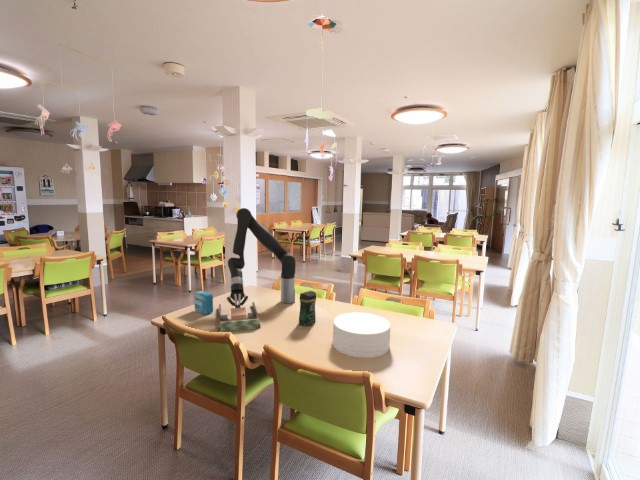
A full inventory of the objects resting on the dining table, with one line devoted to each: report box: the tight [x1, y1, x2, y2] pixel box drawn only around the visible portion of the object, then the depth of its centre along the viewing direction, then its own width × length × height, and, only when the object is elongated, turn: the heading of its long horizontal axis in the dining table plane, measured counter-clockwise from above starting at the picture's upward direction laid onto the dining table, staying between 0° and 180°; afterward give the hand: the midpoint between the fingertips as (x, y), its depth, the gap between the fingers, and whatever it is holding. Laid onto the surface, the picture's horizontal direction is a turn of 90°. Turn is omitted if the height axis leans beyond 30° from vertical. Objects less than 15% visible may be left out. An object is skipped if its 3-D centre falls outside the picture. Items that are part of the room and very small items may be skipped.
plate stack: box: [332, 311, 391, 359], centre depth 162 cm, size 28×28×12 cm
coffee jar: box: [298, 290, 317, 326], centre depth 186 cm, size 10×8×19 cm
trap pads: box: [221, 312, 256, 321], centre depth 195 cm, size 20×8×1 cm, turn 107°
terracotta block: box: [230, 307, 247, 321], centre depth 185 cm, size 8×12×7 cm, turn 16°
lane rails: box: [217, 301, 261, 332], centre depth 193 cm, size 22×38×5 cm, turn 16°
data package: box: [193, 290, 214, 315], centre depth 201 cm, size 12×4×12 cm, turn 57°
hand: (238, 311), depth 191 cm, fingers closed
